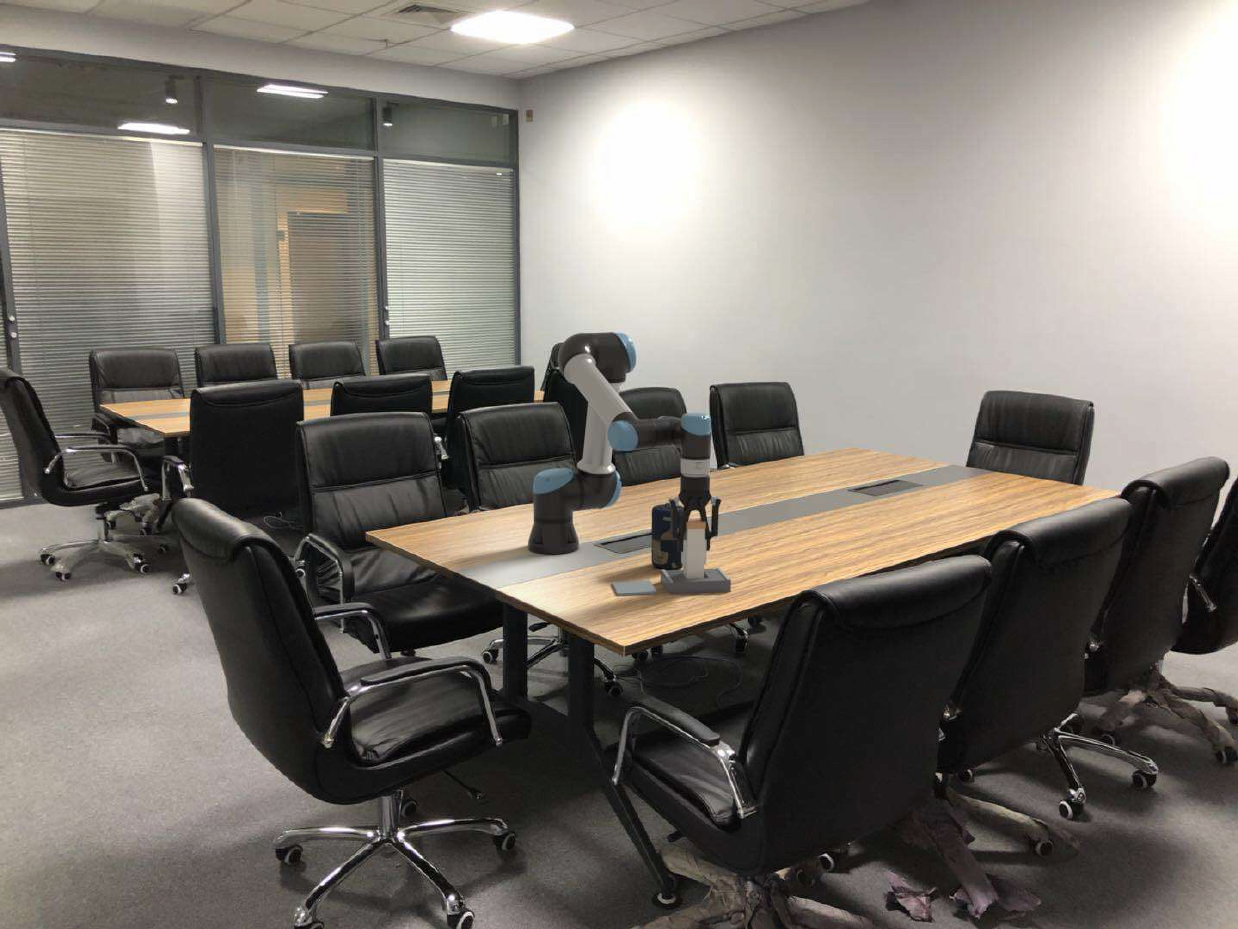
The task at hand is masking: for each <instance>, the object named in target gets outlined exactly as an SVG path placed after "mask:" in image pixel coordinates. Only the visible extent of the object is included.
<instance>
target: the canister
mask: <svg viewBox="0 0 1238 929" xmlns="http://www.w3.org/2000/svg"><path fill="white" fill-rule="evenodd" d="M683 509H684V506H682V505H680V504H678V506H677V533H678V531H679V527H680V523H681V519H682V515H683ZM650 526H651V536H650V537H651V548H650V549H651V553H650V554H651V556H650V557H651V559H650V560H651V564H652V565H653V566H654V567H656V568H659V569H665V570H666V569H667V570H668V569H671V570H673V569H678V568H681V567H683V564H682V563H681V552H679V551H678V539H677V538H673V537H672V535H671V507H670V504H669V502H666V503H663V504H657V505H655V506H653V507H652V509H651V525H650Z"/></svg>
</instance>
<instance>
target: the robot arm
mask: <svg viewBox="0 0 1238 929" xmlns="http://www.w3.org/2000/svg"><path fill="white" fill-rule="evenodd" d="M636 352H637V351H636V348H635V345H634V342H633V341H632V339H631V338H630V337H629V336H628V335H627V334H626V333H623V332H614V331H609V332H589V333H588V332H580V333H575V334H572V335H571V336H569V337H567V338H566V339H565V340H564V341H563V343H562V344H561V346H560V347H559V350H558V355H557V365H558V368H559V371H560V372H561V375H562V376H563V378H564V379H565V380H566V381H567V382H568V383H570V384H573V385H574V386H575V387H576V388H577V389H578V391H579V392H580V393H581V395H583V397H584V398H585V400H586V401H587V402H588V403H587V411H586V412H587V414H586V421H585V422H586V423H585V432H584V443H583V451H582V459H581V460H579V461H578V462H577V464H576V470H575V472H573V470H572V469H570V468H566V467H560V468H550V469H545V470H543V471H540V472H538V473H536V475H535V476H534V478H533V487H532V492H533V493H532V498H533V501H532V502H533V524H532V527H531V530H530V533H529V536H528V540H527V548H528V550H529V551H530V552H533V553H537V554H541V555H542V554H545V555H561V554H562V555H563V554H568V553H572V552H575V551H577V550H579V548H580V541H579V537H578V534H577V531H576V528H575V525H574V519H573V518H574V517H573V515H574V513H573V512H580V511H588V510H589V511H590V510H602V509H604V508H609V507H612V506H613V505H615V504H616V503H617V501H618V500H619V498H620V496H621V491H622V481H621V476H620V473H619V472H618V471H617V470H616V466H615V465H614V464H613V463H612V459H613V458H612V456H613V450H614V451H618V452H621V451H625V452H629V451H637V450H647V449H660V448H669V447H670V448H671V447H674V448H678V449H680V473H681V475H680V482H679V483H680V484H679V485H680V487H679V488H680V490H679V494H678V496H676V497H674V498H669V499H668V503H669V504H670V507H671V535H672V537H673V538H677V539H678V551H679V552H681V563H682V564H683V565H686V548H687V540H686V539H685V538H684V536H685V532H686V522H688V520H689V518H690V515H691V514H692V512H693V511H698V514H699V518H701V520H702V521H705V522H706V529H705V548H704V565H707V552H709V551H710V550H711V540H712V538H714V537H718V535H719V534H718V533H719V508H720V507H721V503H722V500H721V499H720V497H718V496H716V497H715V496H712V493H711V476H710V475H709V474H710V473H711V451H712V450H711V449H712V446H711V445H712V432H713V431H712V418H711V416H710V415H709V414H707V413H704V412H703V413H700V412H688V413H684V414H682V416H681V418H679V417H676V416H671V415H667V416H666V415H663V416H659V417H657V418H649V419H648V418H646V419H640V418H638V417H637V416H636V414H635V413H634V412H633V411H632V410H631V408H630V407H629V406H628V405H627V403H626V402H625V400H623V399H622V397H621V396H620V394H619V393H620V387H621V386H622V385H623V384H624V383H625V382H626V381H627V374H630V373H632V372H633V371H634V369H635V367H636V365H637V353H636ZM679 502H680V503H681V504H682V505H683V507H684V509H683V515H682V519H681V523H680V527H679V531H678V533H677V506H678V505H679ZM709 503H710V504H711V516H710V517H711V520H710V526H709V521H708V517H707V509H706V507H707V506H708V504H709Z"/></svg>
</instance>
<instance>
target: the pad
mask: <svg viewBox="0 0 1238 929" xmlns="http://www.w3.org/2000/svg"><path fill="white" fill-rule="evenodd" d="M611 585H612V587H613V589H614V591H615V593H616V595H617V596H640V595H641V596H643V595H645V596H646V595H657V594H658V592H657V589H656V588H655V586H654V584H653V583H652V581H651V580H650V579H649V580H628V581H612V582H611Z"/></svg>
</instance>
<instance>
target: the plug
mask: <svg viewBox="0 0 1238 929" xmlns="http://www.w3.org/2000/svg"><path fill="white" fill-rule="evenodd" d="M705 529H706V522H705V521H702V520H701V518H700V517H698V518H695V517H693V518H690V517H689V520H688V522H686V532H685V536H684V538H685V539H686V540H687V548H686V565H683V566H682V570H683V575H684V577H685V578H686V579H702V578H704V569H705V564H704V548H705Z"/></svg>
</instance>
